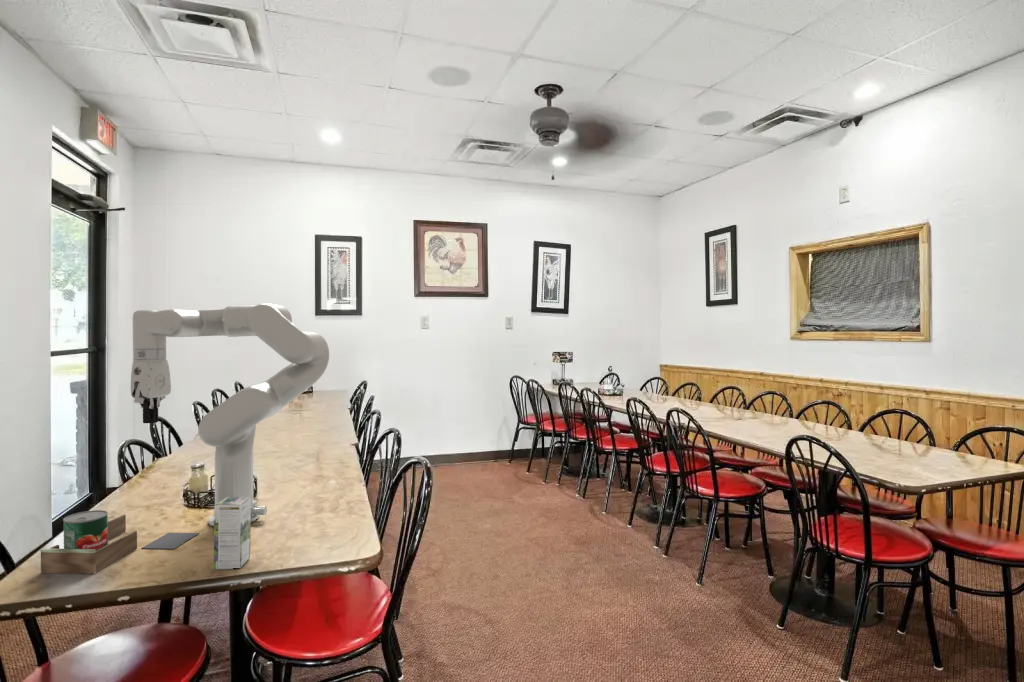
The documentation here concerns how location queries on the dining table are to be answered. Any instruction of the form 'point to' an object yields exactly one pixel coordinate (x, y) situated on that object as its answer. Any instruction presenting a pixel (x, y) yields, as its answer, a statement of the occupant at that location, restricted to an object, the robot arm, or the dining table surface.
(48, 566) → the corral
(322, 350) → the robot arm
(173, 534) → the mats
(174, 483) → the dining table surface
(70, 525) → the canned tomato
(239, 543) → the syrup box
